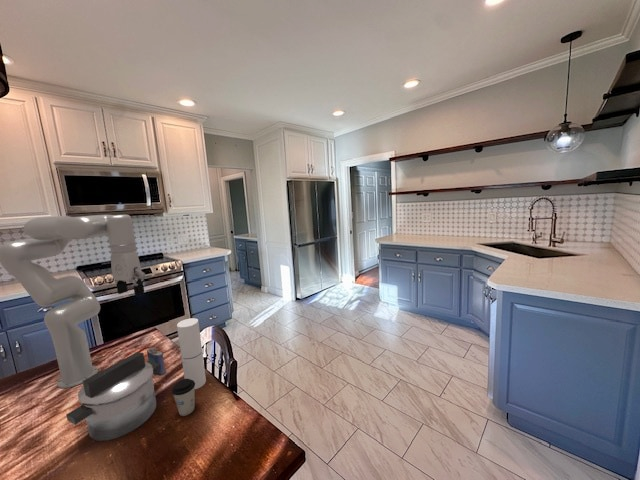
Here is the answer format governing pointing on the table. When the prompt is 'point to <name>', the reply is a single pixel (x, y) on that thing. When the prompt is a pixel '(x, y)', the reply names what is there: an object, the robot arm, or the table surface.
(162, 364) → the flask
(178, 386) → the coffee cup
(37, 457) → the table surface
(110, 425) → the cooker pot
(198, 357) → the cylindrical container
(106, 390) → the lid
